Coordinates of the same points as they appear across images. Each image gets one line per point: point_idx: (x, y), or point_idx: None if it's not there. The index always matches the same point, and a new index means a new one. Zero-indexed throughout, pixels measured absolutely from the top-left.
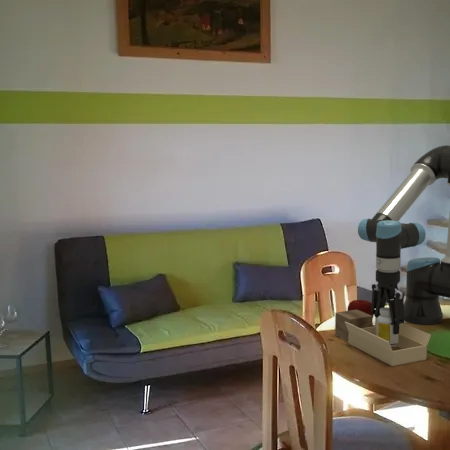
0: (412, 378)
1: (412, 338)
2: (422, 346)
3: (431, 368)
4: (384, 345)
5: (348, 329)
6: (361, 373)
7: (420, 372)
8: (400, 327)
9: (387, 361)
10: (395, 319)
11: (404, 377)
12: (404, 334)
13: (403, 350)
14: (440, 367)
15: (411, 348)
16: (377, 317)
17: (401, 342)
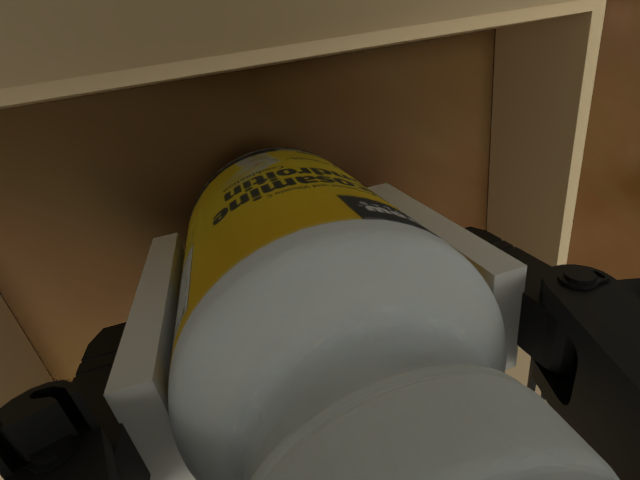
0: (630, 244)
1: (424, 19)
2: (597, 50)
3: (612, 80)
4: (518, 367)
5: None
6: None
7: (611, 174)
8: (151, 13)
9: None
10: (494, 313)
11: (606, 271)
12: (286, 37)
13: (565, 240)
14: (632, 10)
15: (578, 171)
16: (154, 478)
17: (250, 67)
